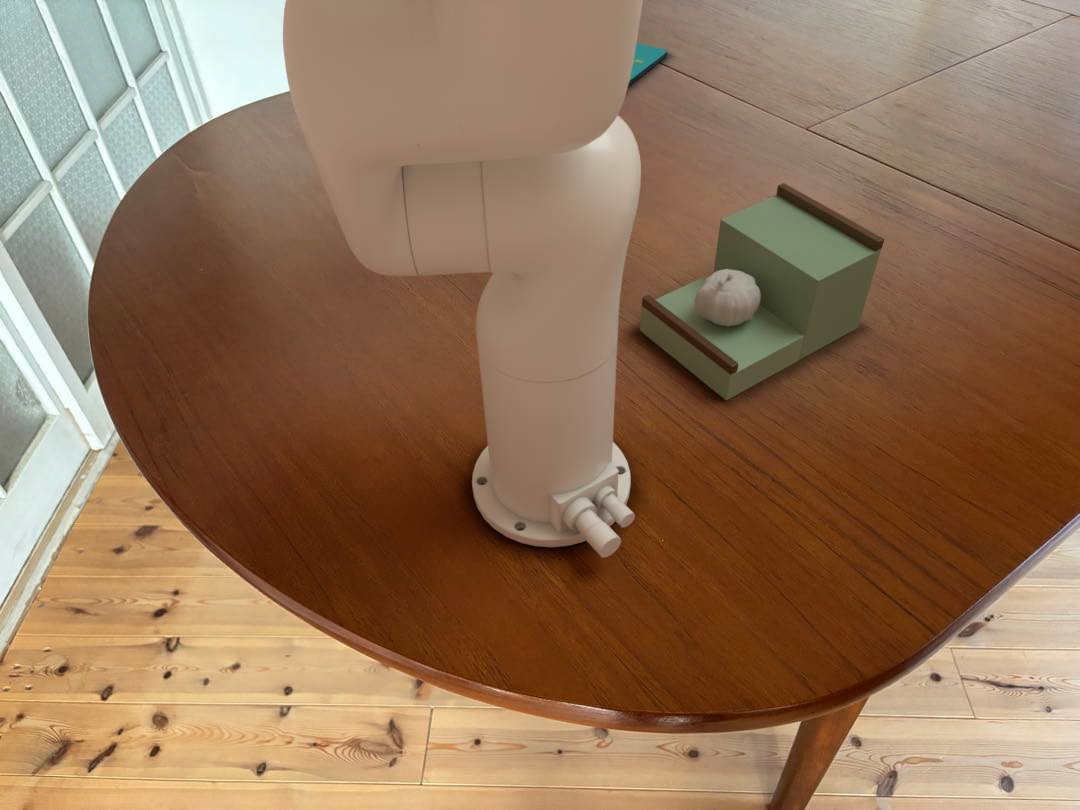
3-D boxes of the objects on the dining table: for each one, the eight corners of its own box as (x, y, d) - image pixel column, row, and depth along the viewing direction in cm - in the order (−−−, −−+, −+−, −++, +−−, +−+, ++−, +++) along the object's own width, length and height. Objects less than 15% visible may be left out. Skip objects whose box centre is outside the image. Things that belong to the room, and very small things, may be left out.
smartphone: (670, 49, 128) (621, 86, 119) (669, 54, 128) (621, 92, 119) (626, 40, 131) (576, 76, 122) (626, 46, 131) (576, 82, 122)
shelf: (858, 328, 82) (884, 239, 75) (726, 400, 75) (741, 310, 68) (767, 268, 89) (783, 182, 82) (639, 330, 82) (645, 242, 75)
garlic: (711, 344, 76) (718, 296, 72) (682, 309, 80) (687, 262, 76) (769, 326, 78) (779, 279, 74) (738, 293, 81) (745, 247, 78)
